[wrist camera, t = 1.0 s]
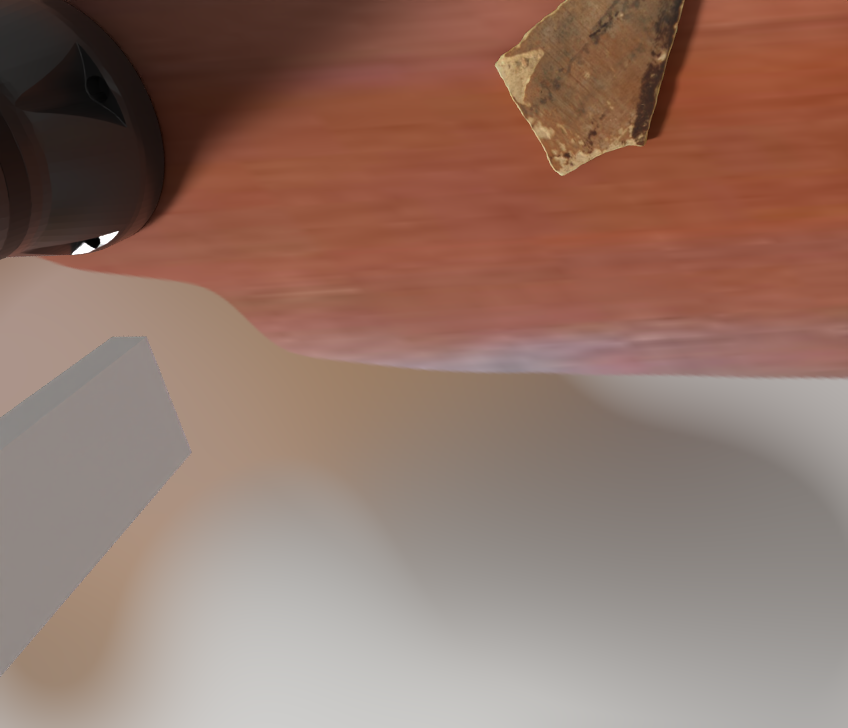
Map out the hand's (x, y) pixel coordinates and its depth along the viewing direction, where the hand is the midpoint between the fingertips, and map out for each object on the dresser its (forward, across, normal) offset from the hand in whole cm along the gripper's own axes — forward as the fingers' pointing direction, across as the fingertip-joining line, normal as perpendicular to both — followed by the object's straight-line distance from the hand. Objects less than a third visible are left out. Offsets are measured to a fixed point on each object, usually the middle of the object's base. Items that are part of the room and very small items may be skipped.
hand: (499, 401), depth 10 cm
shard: (+26, +2, +4) cm, 26 cm away
